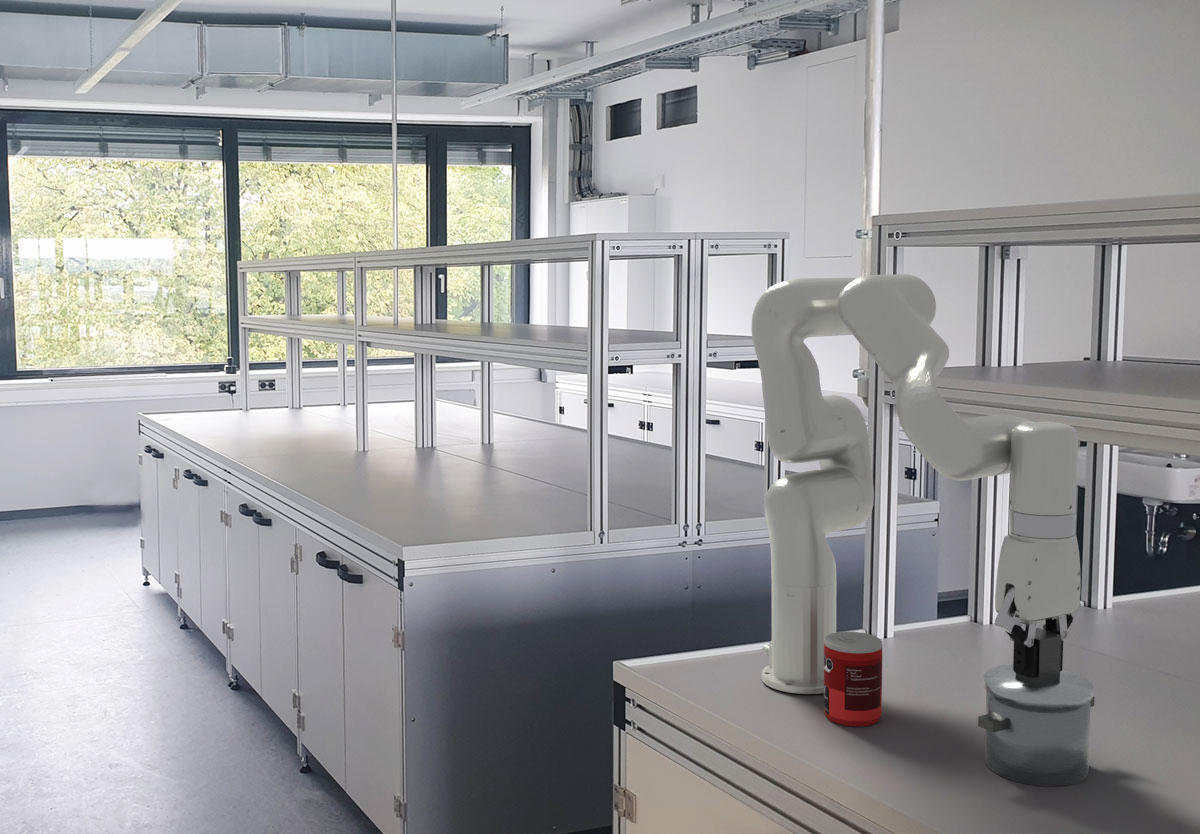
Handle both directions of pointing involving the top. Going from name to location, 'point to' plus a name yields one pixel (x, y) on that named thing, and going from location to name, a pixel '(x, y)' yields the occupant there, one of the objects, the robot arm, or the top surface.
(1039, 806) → the top surface
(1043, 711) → the pot
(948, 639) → the top surface
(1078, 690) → the lid
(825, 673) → the canned food
